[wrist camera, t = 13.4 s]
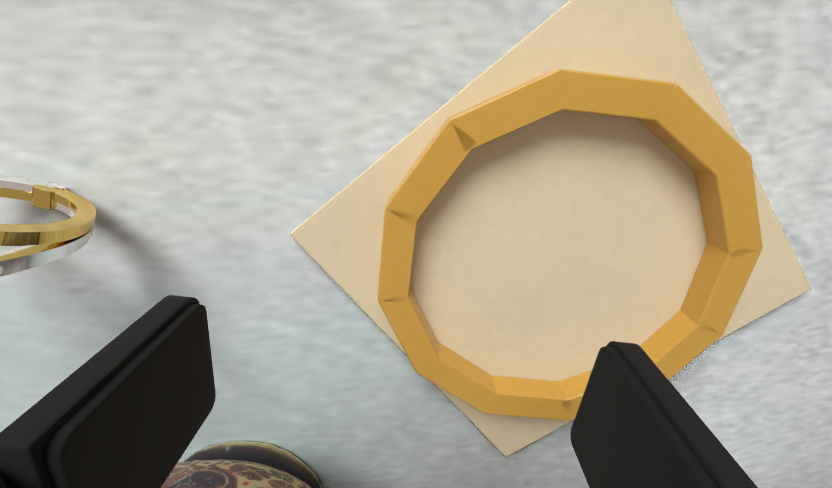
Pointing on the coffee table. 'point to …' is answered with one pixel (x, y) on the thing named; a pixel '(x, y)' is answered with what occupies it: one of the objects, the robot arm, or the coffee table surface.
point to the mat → (553, 217)
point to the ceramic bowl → (242, 468)
